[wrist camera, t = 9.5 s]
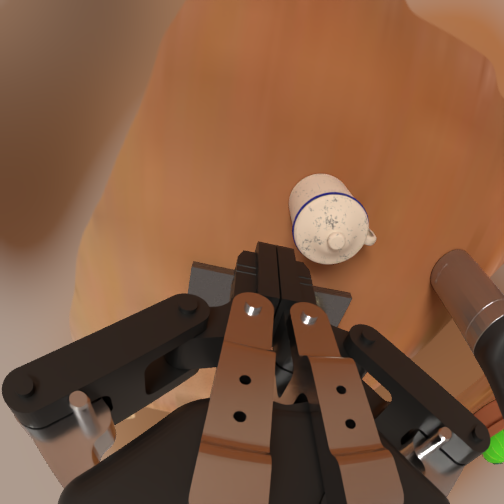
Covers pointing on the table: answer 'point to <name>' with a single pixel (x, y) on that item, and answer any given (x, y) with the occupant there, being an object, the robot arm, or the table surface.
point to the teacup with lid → (327, 220)
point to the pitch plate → (219, 286)
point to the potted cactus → (493, 431)
